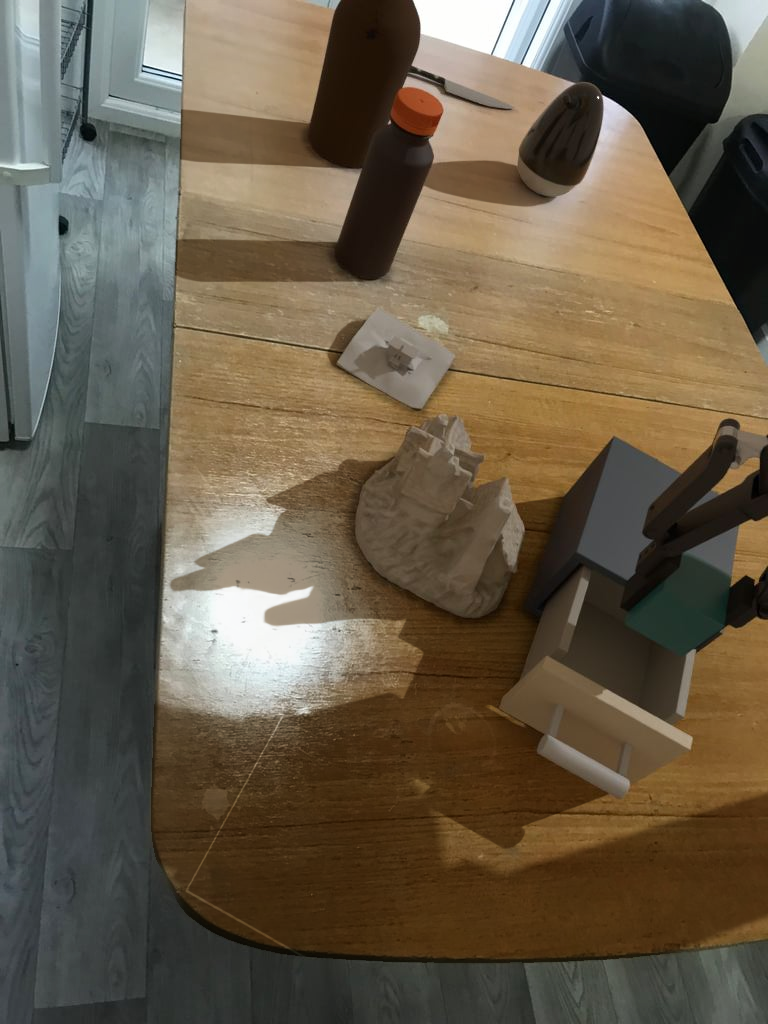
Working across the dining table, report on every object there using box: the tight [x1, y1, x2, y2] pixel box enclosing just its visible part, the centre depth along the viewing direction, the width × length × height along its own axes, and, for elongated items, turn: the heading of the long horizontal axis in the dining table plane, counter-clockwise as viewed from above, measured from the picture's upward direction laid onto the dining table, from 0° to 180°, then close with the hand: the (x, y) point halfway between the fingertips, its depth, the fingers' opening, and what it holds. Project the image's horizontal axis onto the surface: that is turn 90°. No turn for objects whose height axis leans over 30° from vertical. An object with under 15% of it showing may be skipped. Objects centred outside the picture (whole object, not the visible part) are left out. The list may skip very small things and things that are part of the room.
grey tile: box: [336, 306, 457, 411], centre depth 88 cm, size 12×11×4 cm
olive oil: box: [307, 0, 422, 169], centre depth 102 cm, size 11×11×25 cm
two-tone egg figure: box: [517, 81, 605, 198], centre depth 116 cm, size 10×10×15 cm
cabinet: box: [523, 435, 740, 655], centre depth 78 cm, size 16×14×10 cm
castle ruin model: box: [354, 413, 526, 619], centre depth 73 cm, size 16×16×15 cm
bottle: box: [334, 86, 444, 280], centre depth 91 cm, size 7×7×20 cm
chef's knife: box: [408, 65, 516, 110], centre depth 130 cm, size 19×1×3 cm
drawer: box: [498, 563, 697, 800], centre depth 69 cm, size 19×13×8 cm, turn 157°
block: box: [624, 551, 733, 657], centre depth 62 cm, size 5×5×5 cm
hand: (660, 614), depth 63 cm, fingers closed on block, 5 cm apart
